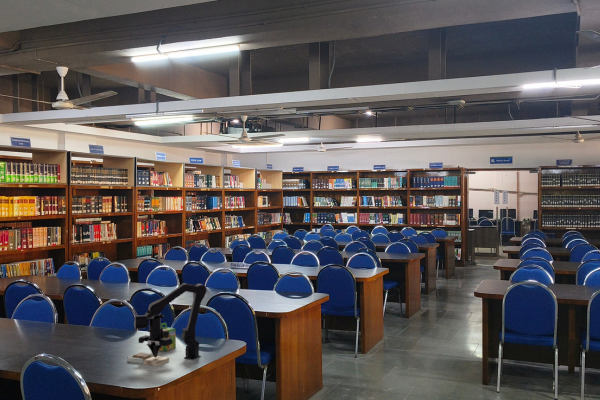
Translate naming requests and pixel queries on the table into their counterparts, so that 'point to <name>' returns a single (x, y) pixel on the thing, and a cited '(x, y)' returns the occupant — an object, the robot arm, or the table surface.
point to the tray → (137, 359)
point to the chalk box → (171, 335)
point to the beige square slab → (156, 360)
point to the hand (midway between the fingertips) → (155, 357)
